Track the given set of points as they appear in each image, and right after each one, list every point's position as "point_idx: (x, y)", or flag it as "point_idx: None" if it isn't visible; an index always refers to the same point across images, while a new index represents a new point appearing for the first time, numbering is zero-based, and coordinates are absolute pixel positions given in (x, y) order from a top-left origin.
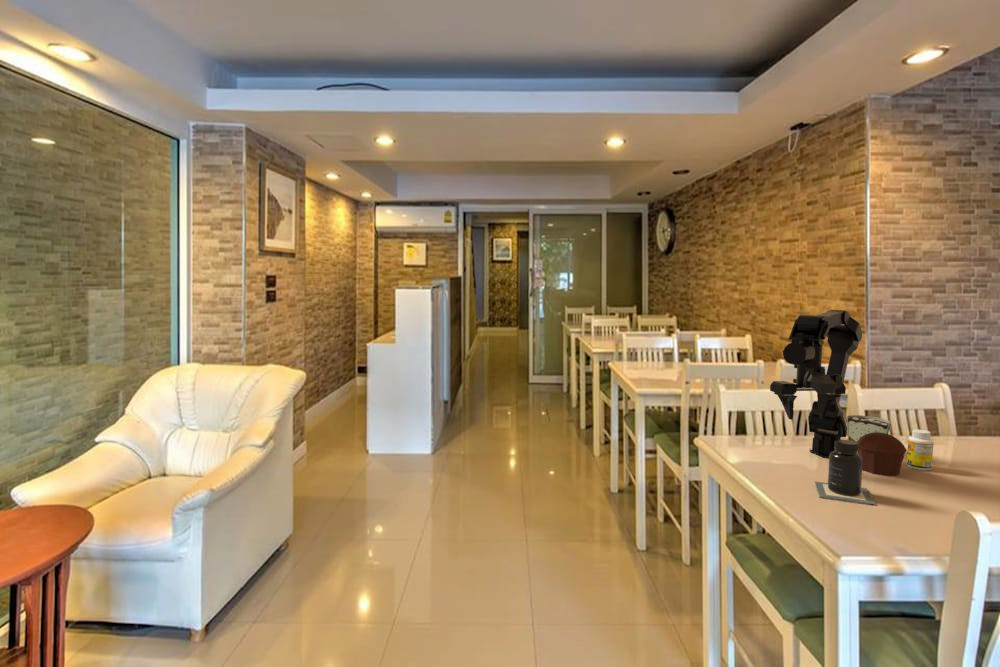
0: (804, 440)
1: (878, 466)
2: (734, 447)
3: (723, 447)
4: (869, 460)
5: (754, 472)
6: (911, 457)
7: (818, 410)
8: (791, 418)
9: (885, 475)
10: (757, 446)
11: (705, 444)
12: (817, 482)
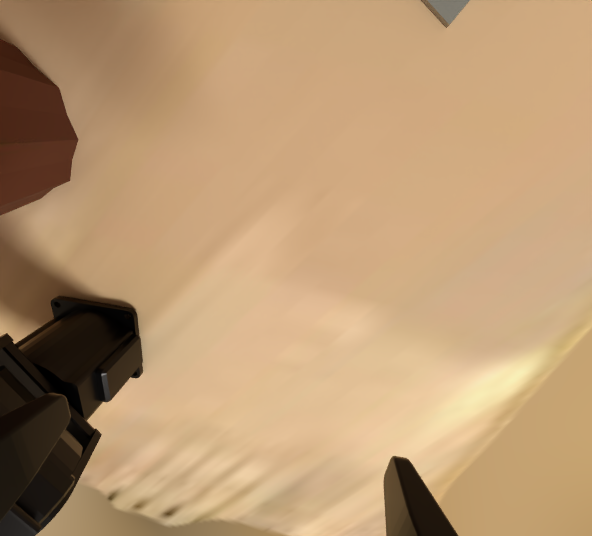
0: None
1: (6, 60)
2: (365, 466)
3: None
4: (17, 99)
5: (576, 242)
6: None
7: (6, 509)
8: (406, 465)
9: (15, 48)
10: (279, 452)
11: None
12: (453, 3)
